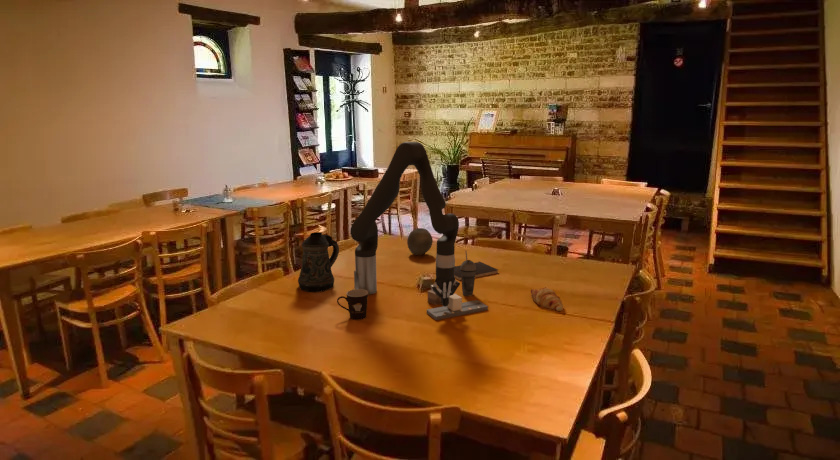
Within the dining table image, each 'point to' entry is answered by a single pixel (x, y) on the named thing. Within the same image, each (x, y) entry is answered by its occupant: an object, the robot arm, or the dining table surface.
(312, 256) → the beer stein
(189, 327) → the dining table surface
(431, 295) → the walnut block
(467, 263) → the beverage cup
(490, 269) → the hardcover book
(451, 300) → the knob
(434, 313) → the board
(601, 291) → the dining table surface
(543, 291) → the croissant
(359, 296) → the coffee mug
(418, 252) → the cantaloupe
